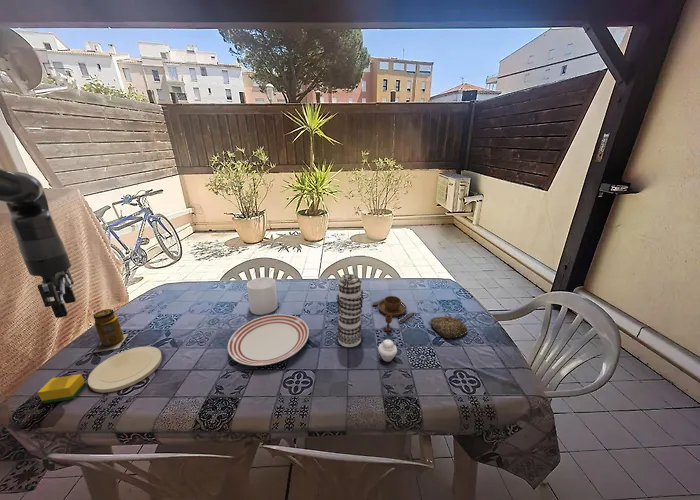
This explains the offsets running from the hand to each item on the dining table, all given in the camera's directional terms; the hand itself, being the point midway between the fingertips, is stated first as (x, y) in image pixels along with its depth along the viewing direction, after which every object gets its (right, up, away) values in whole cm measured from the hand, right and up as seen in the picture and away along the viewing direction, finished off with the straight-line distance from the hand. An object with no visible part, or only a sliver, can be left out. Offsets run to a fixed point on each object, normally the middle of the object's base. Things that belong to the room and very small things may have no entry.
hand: (66, 309), depth 74 cm
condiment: (-7, -17, +22) cm, 28 cm away
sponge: (-2, -24, +1) cm, 24 cm away
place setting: (+93, -11, +40) cm, 102 cm away
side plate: (+8, -21, +10) cm, 25 cm away
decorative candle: (+78, -17, +24) cm, 83 cm away
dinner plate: (+50, -17, +22) cm, 57 cm away
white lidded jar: (+90, -20, +15) cm, 93 cm away
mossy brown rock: (+116, -14, +30) cm, 121 cm away
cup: (+40, -9, +44) cm, 60 cm away
